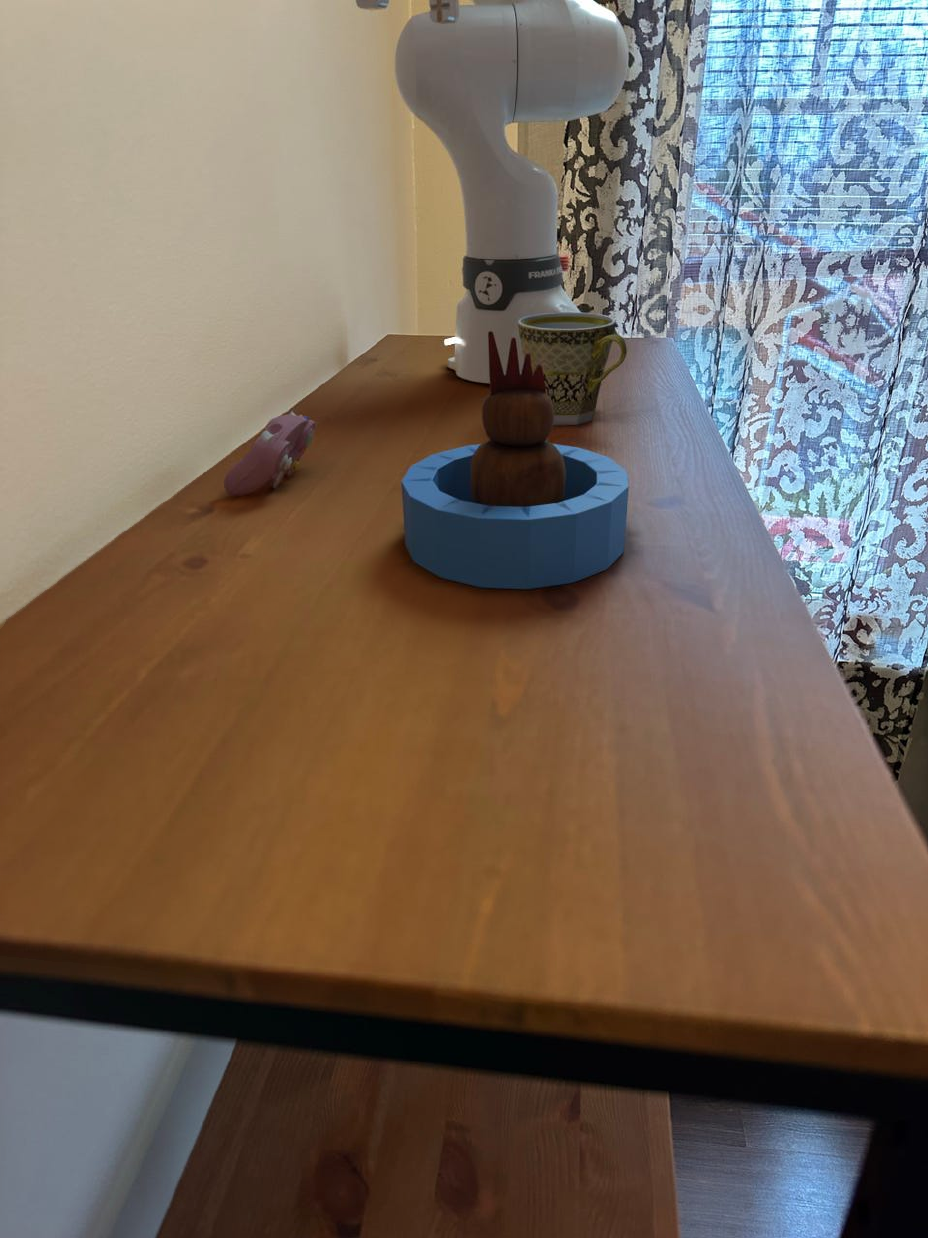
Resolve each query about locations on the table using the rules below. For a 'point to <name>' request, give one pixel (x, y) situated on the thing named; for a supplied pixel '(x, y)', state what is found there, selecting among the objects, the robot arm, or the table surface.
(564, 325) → the ceramic cup
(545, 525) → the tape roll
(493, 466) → the wooden figurine
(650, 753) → the table surface
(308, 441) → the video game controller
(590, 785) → the table surface
